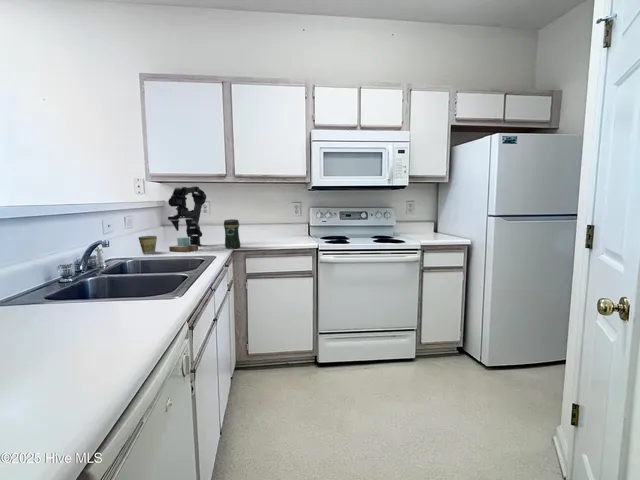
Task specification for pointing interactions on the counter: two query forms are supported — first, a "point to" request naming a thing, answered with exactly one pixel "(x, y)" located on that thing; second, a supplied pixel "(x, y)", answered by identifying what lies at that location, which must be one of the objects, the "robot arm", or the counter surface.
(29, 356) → the counter surface
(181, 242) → the teal cube
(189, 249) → the walnut plinth
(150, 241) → the ceramic cup
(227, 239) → the coffee jar
